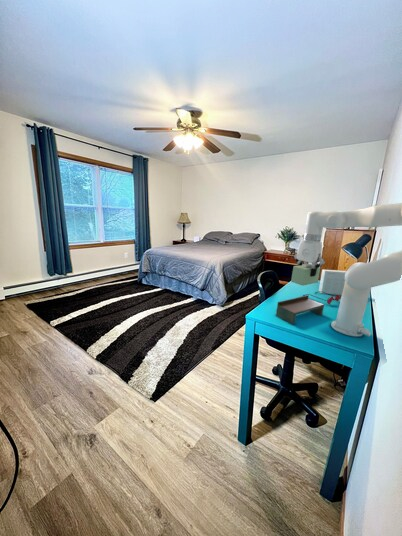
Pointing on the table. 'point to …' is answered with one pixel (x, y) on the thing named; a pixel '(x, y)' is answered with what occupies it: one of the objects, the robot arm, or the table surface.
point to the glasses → (328, 298)
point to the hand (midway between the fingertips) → (305, 273)
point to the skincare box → (332, 282)
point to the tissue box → (304, 274)
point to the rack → (297, 308)
